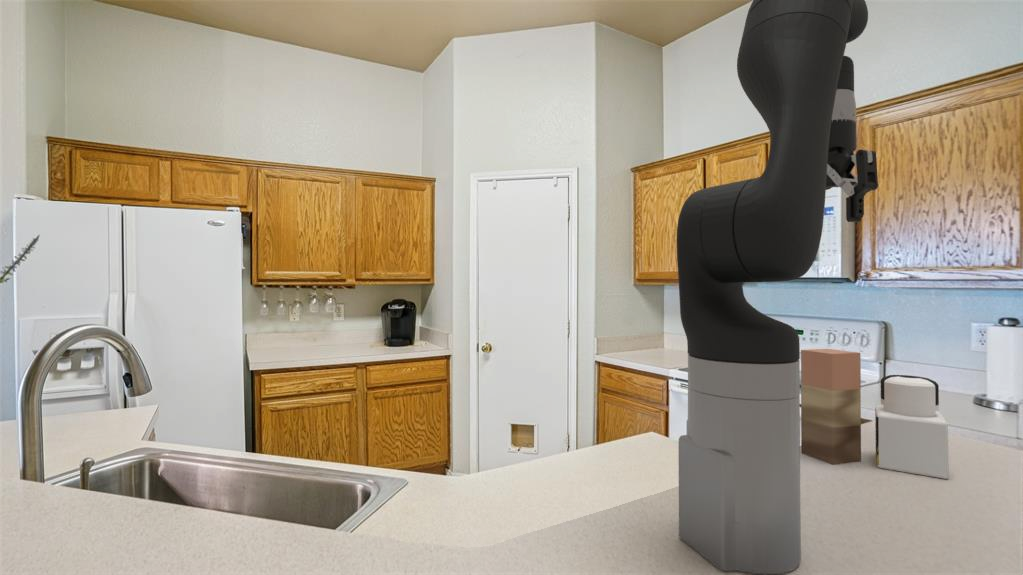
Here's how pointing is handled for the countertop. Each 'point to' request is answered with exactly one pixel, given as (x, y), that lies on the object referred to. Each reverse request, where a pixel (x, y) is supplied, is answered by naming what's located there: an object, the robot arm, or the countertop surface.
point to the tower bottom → (831, 442)
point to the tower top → (831, 406)
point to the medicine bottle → (911, 427)
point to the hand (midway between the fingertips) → (828, 225)
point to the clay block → (831, 369)
